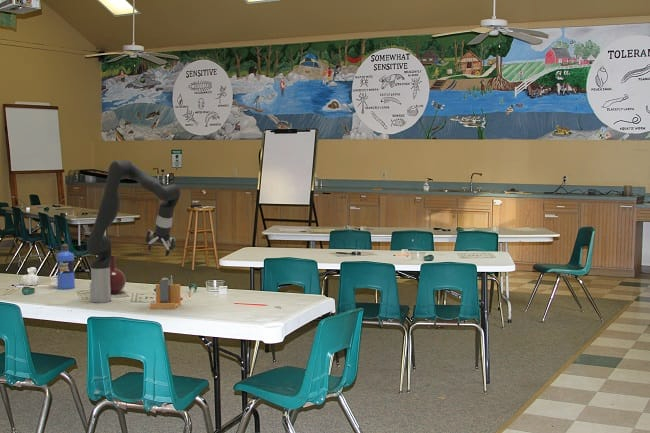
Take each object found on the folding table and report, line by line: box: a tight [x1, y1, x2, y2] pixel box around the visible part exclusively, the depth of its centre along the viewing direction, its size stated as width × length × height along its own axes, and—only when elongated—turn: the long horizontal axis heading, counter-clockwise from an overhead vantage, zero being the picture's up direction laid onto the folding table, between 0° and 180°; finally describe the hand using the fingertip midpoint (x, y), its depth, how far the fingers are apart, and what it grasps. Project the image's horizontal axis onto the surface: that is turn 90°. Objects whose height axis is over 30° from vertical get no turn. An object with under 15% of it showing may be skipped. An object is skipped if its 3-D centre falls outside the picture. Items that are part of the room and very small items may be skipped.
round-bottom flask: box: [110, 255, 127, 294], centre depth 434 cm, size 13×13×20 cm
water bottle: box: [55, 243, 76, 291], centre depth 450 cm, size 9×9×25 cm
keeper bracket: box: [149, 284, 182, 310], centre depth 396 cm, size 12×11×10 cm
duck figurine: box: [20, 266, 40, 286], centre depth 464 cm, size 12×8×11 cm
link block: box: [159, 277, 171, 303], centre depth 395 cm, size 4×4×13 cm
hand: (158, 253), depth 396 cm, fingers open, 8 cm apart
